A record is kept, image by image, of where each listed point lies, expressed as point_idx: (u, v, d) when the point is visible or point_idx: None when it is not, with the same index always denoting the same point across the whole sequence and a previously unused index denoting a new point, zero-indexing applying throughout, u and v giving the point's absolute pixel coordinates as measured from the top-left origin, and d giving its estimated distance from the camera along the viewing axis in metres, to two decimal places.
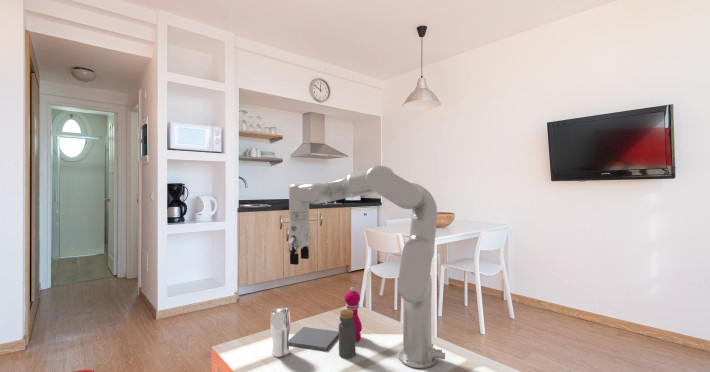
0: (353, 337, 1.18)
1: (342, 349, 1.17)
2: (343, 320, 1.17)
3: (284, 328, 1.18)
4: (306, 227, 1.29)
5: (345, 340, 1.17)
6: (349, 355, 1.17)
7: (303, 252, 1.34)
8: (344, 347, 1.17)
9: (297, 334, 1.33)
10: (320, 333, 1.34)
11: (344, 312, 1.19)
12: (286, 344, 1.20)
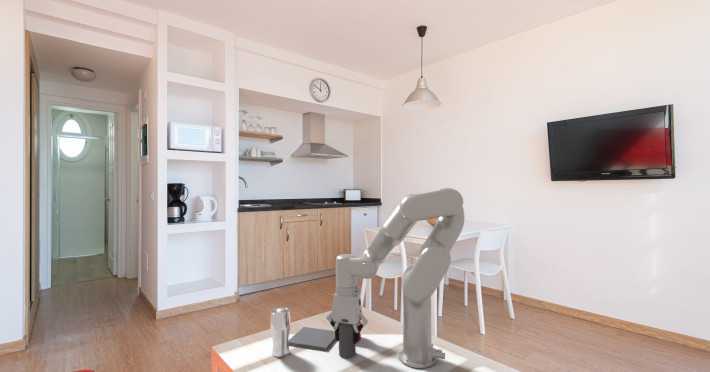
0: (353, 337, 1.18)
1: (342, 349, 1.17)
2: (343, 320, 1.17)
3: (284, 328, 1.18)
4: None
5: (345, 340, 1.17)
6: (349, 355, 1.17)
7: None
8: (344, 347, 1.17)
9: (297, 334, 1.33)
10: (320, 333, 1.34)
11: None
12: (286, 344, 1.20)
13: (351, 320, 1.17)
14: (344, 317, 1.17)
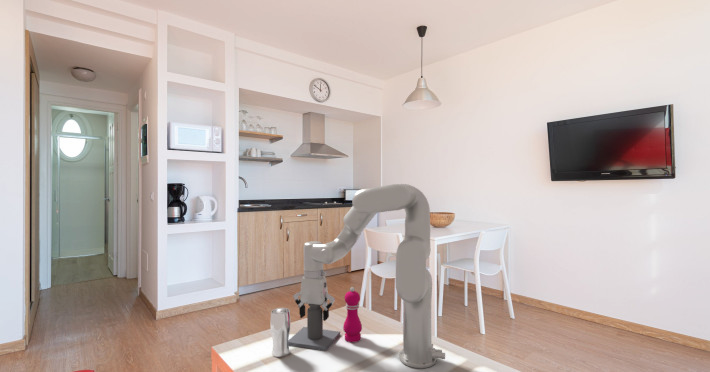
0: (320, 320, 1.29)
1: (309, 331, 1.29)
2: (311, 305, 1.29)
3: (284, 328, 1.18)
4: None
5: (312, 323, 1.28)
6: (316, 337, 1.28)
7: (303, 310, 1.32)
8: (312, 329, 1.28)
9: (297, 334, 1.33)
10: None
11: None
12: (286, 344, 1.20)
13: (317, 301, 1.28)
14: (311, 298, 1.29)
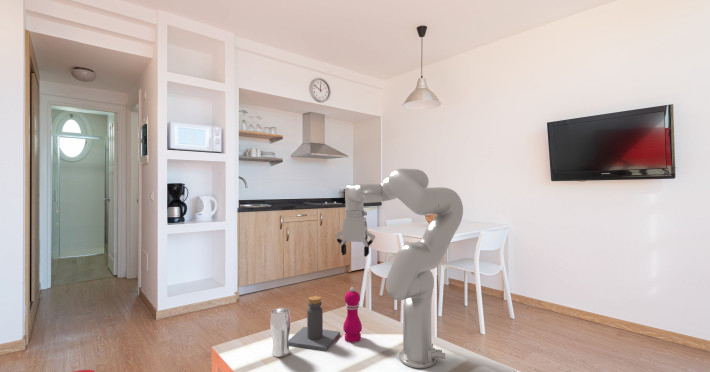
0: (320, 321, 1.29)
1: (309, 331, 1.29)
2: (311, 305, 1.29)
3: (284, 328, 1.18)
4: None
5: (312, 323, 1.28)
6: (316, 337, 1.28)
7: (344, 248, 1.43)
8: (312, 329, 1.28)
9: (297, 334, 1.33)
10: None
11: (312, 298, 1.30)
12: (286, 344, 1.20)
13: (359, 238, 1.39)
14: (353, 236, 1.39)
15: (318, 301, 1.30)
